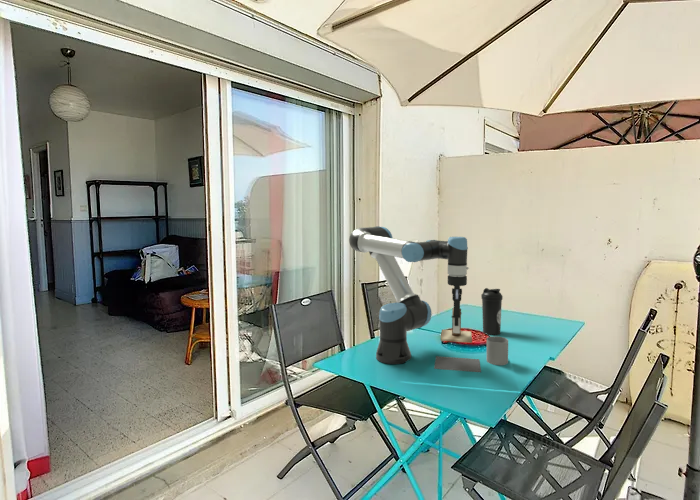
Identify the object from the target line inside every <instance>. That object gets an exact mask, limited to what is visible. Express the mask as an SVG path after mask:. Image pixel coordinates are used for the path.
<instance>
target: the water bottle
mask: <svg viewBox="0 0 700 500" xmlns="http://www.w3.org/2000/svg"><path fill="white" fill-rule="evenodd" d="M500 291H501V289H500V288H492V289H491V288H488V287H486V288H484V289H483V292H482V294H481V303H482V304H481V309H482V311H481V312H482V333H483V332H484V333H487V334H488V335H489V336H498V335H500V334H501V326H502V305H503V303H502V302H503V301H502V300H503V299H504V298H503V297H504V296H503V294H502V293H501V292H500ZM484 333H483V334H484ZM487 334H486V335H487Z"/></svg>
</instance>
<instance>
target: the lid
mask: <svg viewBox="0 0 700 500" xmlns="http://www.w3.org/2000/svg"><path fill="white" fill-rule="evenodd" d="M461 313H462V309H461V307H460V334H459V333H453V318H452V316H453V315H454V307H453V308H452V315H451V318H452V320H451V322H452V323H451V329H441V335H440V341H442V342H445V341H446V342H455V343H457V342H458V343H471V344H473V338H472V336H473V335H472V331H470V330H469V331H468V330H462V329H461V328H462V327H461V326H462V314H461Z"/></svg>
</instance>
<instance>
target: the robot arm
mask: <svg viewBox="0 0 700 500" xmlns="http://www.w3.org/2000/svg"><path fill="white" fill-rule="evenodd" d="M348 242H349V245H350V247H351V248H352V249H353V250H354V251H355V252H359V253H369V256H370V257H371V258H373V259H375V260H376V263H377V265H378V266H379V268H380V270H381V272H382V274H383V276H384V278H385V280H386V281H385V282H387V284H388V286H389V288H390V291H391V292H392V294H393V296H394V298H395V301H396V302H393V303H392V302H389V303H387V304H384V305H382V306H381V307H379V308H380V309H379V315H378V319H379V320H378V321H379V322H378V323H379V343H378V345H377V348H376V355H375V358H376V360H377V362H380V363H382V364H386V365H387V364H388V365H401V364H404V363H405V364H406V362H409V361H410V360H411V359H412V351H411V350H410V347H409V344H408V343H409V342H408V340H407V338H408V337H407V332H410V331H413V330H416V329H421V328H422V327H425V326H427V325H428V324H429V323H430V321H431V319H432V314H433V313H432V308H431V306H430V304H429V303H428V302H427V301H425V300H422V299H421V298H420V297H419V295H418V294H417V293H414V292H413V290H412V288H411V285H410V284H409V282H408V280H407V278H406V276H405V274H404V273H403V270H402V269H401V266H400V265H399V263H398V261H397V259H396V258H400V259H404V260H405V261H406V262H408V263H417V262H423V261H429V260H430V261H431V260H434V259H435V260H436V259H441V260H447V285H449V286H453V287H452V288H451V295H452V299H451V300H452V301H453V308H454V315H453V316H452V315H451V318H453V333H459V334H460V308H461V301H462V295H463V288H461V287H465V286H467V283H468V282H467V281H468V276H467V274H468V270H469V269H470V268H469V267H468V250H469V248H468V239H467V237H465V236H449V237H448V239H447V240H446V241H445V240H437V239H427V240H426V241H410V240H404V239H399V238H394V237H393V234H392V232H391V230H389V228H386V227H384V226H379V225H378V226H369V227H359V228H356V229H353V231H351V233H350V234H349V238H348ZM395 257H396V258H395ZM462 314H463V313H462V312H461V315H462Z"/></svg>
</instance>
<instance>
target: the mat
mask: <svg viewBox="0 0 700 500" xmlns="http://www.w3.org/2000/svg"><path fill="white" fill-rule="evenodd" d="M434 360H435V361H434V367H433V369H435V370H445V371H446V370H447V371H458V372H472V373H482V368H481V367H482V366H481V362H480V359H479V358H467V357H453V356H452V357H451V356H439V355H438V356H437V355H436V356H435V359H434Z"/></svg>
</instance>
